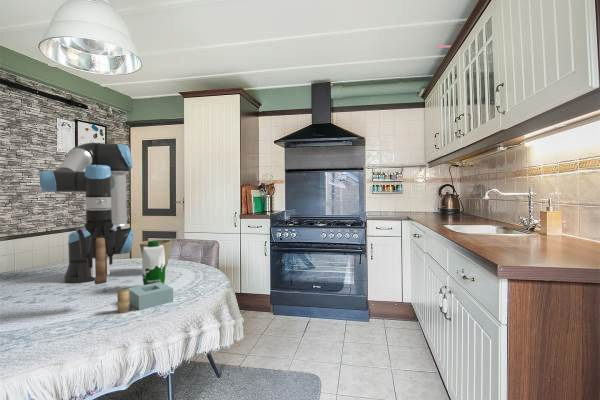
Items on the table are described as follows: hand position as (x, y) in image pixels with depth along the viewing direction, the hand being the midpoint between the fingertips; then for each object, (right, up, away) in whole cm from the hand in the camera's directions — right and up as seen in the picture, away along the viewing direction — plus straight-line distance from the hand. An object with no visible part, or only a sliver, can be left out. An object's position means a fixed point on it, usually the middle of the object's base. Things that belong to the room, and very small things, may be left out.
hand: (100, 275), depth 108 cm
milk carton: (+8, -11, +23) cm, 27 cm away
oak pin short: (+9, -12, -2) cm, 15 cm away
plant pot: (-3, -11, +49) cm, 50 cm away
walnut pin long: (0, -3, 0) cm, 3 cm away
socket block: (+14, -12, +7) cm, 20 cm away
